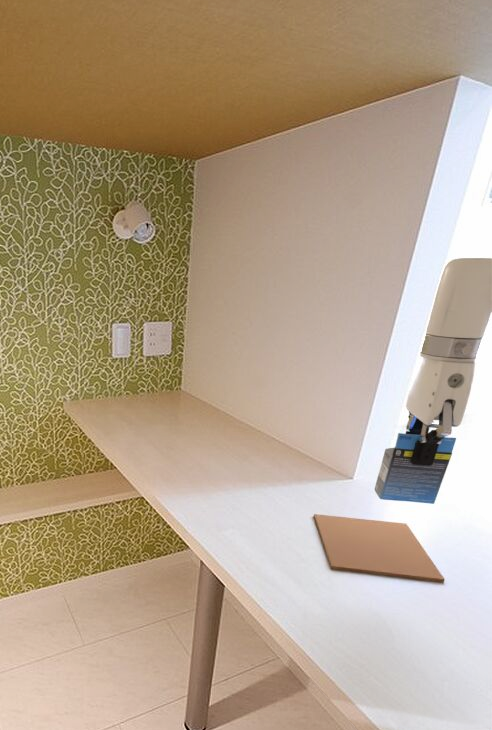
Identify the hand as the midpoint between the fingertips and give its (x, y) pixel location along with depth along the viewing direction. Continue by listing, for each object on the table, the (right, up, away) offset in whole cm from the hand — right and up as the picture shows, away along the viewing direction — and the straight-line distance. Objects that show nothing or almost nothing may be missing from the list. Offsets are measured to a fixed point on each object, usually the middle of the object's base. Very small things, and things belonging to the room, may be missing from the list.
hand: (415, 457), depth 73 cm
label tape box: (0, -7, +3) cm, 8 cm away
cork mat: (+2, -18, +18) cm, 25 cm away
